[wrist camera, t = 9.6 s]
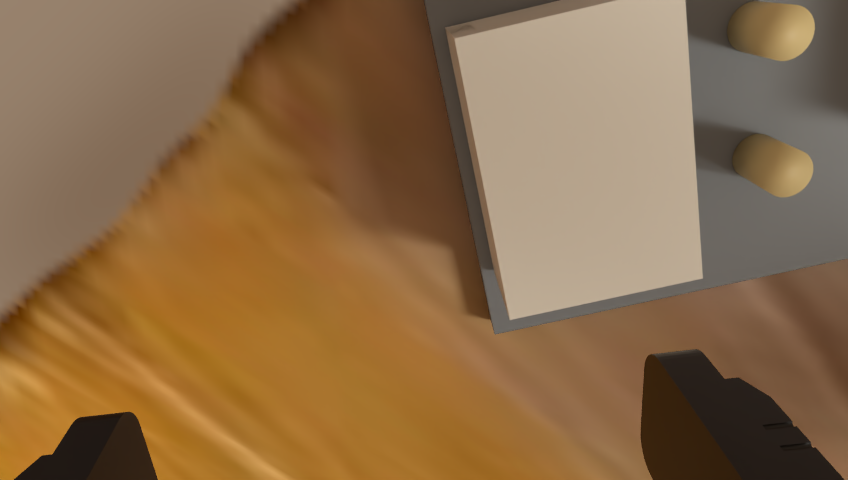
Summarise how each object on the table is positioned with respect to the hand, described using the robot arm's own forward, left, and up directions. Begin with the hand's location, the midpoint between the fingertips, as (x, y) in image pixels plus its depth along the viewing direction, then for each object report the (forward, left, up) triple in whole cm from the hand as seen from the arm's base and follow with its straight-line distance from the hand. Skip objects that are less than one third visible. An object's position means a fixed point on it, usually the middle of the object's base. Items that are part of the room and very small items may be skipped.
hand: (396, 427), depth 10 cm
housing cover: (-1, -6, -16) cm, 17 cm away
